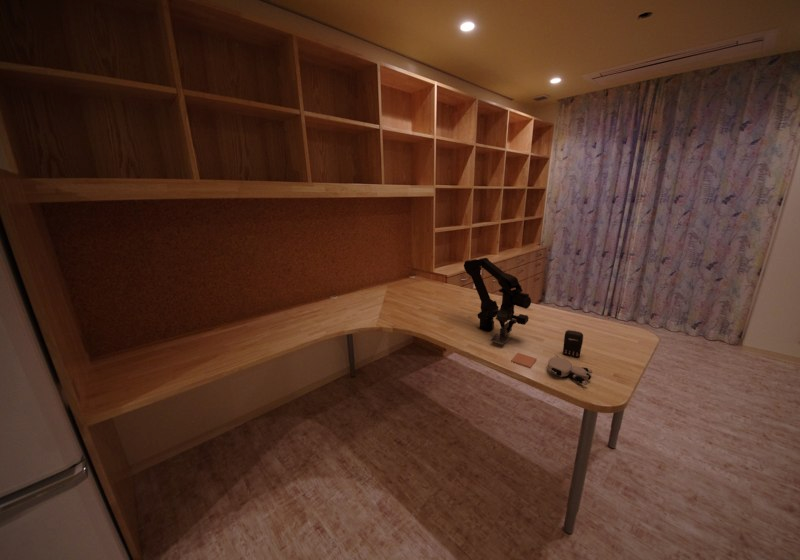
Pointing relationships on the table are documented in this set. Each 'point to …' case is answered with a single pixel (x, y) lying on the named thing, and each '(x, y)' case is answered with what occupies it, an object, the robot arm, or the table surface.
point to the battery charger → (572, 343)
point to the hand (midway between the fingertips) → (505, 331)
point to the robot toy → (568, 369)
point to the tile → (523, 360)
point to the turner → (502, 335)
